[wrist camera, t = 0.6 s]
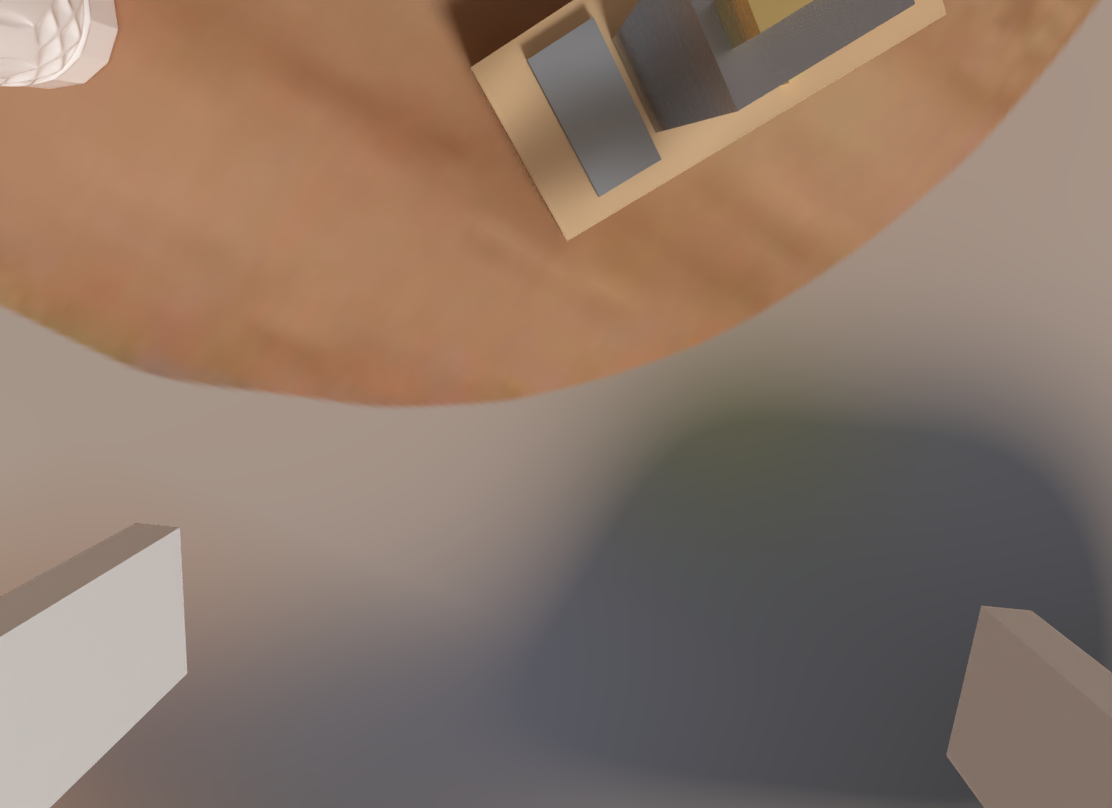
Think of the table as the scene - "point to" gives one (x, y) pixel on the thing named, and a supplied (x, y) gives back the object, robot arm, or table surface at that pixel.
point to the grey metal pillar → (732, 49)
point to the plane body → (627, 108)
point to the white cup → (54, 41)
